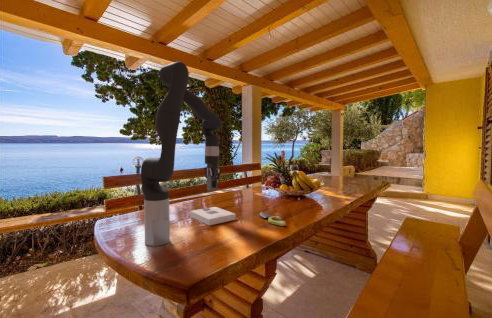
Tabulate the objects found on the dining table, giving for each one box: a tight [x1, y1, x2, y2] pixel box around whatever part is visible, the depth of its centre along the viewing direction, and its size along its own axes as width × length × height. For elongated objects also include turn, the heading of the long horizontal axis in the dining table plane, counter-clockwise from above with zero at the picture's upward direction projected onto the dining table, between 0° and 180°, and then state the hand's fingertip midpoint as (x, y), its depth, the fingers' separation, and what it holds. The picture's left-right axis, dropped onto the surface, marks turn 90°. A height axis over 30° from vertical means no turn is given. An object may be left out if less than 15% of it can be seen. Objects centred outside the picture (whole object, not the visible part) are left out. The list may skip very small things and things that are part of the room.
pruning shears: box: [259, 211, 287, 227], centre depth 124 cm, size 8×3×25 cm
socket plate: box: [189, 206, 236, 226], centre depth 127 cm, size 20×16×4 cm
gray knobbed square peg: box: [206, 173, 218, 192], centre depth 126 cm, size 4×4×10 cm
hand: (212, 186), depth 126 cm, fingers closed on gray knobbed square peg, 4 cm apart
